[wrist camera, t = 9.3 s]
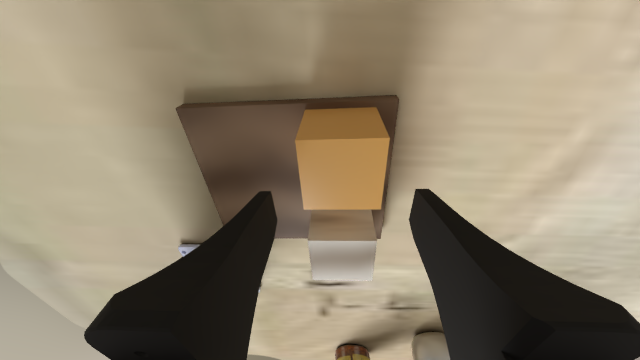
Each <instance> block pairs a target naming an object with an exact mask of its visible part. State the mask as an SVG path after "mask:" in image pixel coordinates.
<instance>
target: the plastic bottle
mask: <svg viewBox="0 0 640 360" xmlns="http://www.w3.org/2000/svg"><path fill="white" fill-rule="evenodd" d="M412 356H413V359H414V360H450V356H449V352H448V347H447V343H446V339H445V334H443V333H439V332H426V333H422V334H419V335H417V336H415V337H414V339H413V342H412Z"/></svg>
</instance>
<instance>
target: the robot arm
mask: <svg viewBox="0 0 640 360" xmlns="http://www.w3.org/2000/svg"><path fill="white" fill-rule="evenodd" d="M409 222H410V226H411V230H412V234H413V238H414V241H415V244H416V246H417V249H418V251H419V254H420V257H421V259H422V262H423V264H424V267H425V269H426V272H427V275H428V277H429V280H430V283H431V286H432V289H433V292H434V296H435V299H436V303H437V307H438V310H439V314H440V318H441V322H442V326H443V330H444V334H445V339H446V343H447V347H448V352H449V356H450V360H634V359H636V358H638V357H640V323H639V322H638V321H637V320H636V319H635V318H634V317H633V316H632V315H631V314H630V313H629V312H628V311H627V310H626V309H625V308H624V307H623V306H622V305H620V304H618V303H615V302H613V301H611V300H609V299H606V298H604V297H602V296H599V295H597V294H595V293H592V292H590V291H588V290H586V289H583V288H581V287H579V286H577V285H574V284H572V283H570V282H568V281H566V280H564V279H562V278H560V277H558V276H556V275H554V274H552V273H550V272H548V271H546V270H544V269H542V268H540V267H538V266H537V265H535V264H533V263H531V262H529V261H528V260H526V259H524V258H522V257H520V256H519V255H517V254H515V253H514V252H512V251H510V250H508V249H507V248H505V247H504V246H502V245H501V244H499V243H498V242H496V241H494V240H493V239H491V238H490V237H488V236H487V235H485V234H484V233H483V232H481V231H480V230H479V229H477V228H476V227H474V226H473V225H472V224H470V223H469V222H468V221H467V220H465V219H464V218H463V217H461V216H460V215H459V214H458V213H457V212H455V211H454V210H453V209H452V208H451V207H449V206H448V205H447V204H446V203H445V202H444V201H442V200H441V199H440V198H439V197H438V196H437V195H435V194H434V193H433V192H432V191H431V190H429V189H416V190H415V195H414V199H413V204H412V208H411V213H410V218H409ZM276 226H277V216H276V211H275V206H274V202H273V197H272V193H271V191H259V192H258V193H257V194H256V195H255V196H254V197H253V198H252V199H251V200H250V201H249V202H248V203H247V204H246V205H245V206H244V207H243V208H242V209H241V210H240V211H239V212H238V213H237V214H236V215H235V216H234V217H233V218H232V219H231V220H230V221H229V222H228V223H227V224H225V225H224V226H223V227H222V228H221V229H220V230H219V231H218V232H216V233H215V234H214V235H213V236H211V237H210V238H209V239H208V240H206V241H205V242H204V243H202V244H182V245H180V246H179V247H178V249H179V251H180V253H181V254H182V256H183V257H182V258H180V259H179V260H177V261H176V262H174V263H173V264H171V265H169V266H168V267H166V268H164V269H162V270H161V271H159V272H157V273H155V274H154V275H152V276H150V277H148V278H146V279H144V280H142V281H140V282H138V283H136V284H134V285H132V286H130V287H128V288H126V289H125V290H123V291H120V292H118V293H116V294H114V296H113V297H112V298H111V299H110V300H109V302H108V303H107V304H106V306H105V307H104V308H103V309H102V311H101V312H100V313H99V314H98V316H97V317H96V318H95V319H94V321H93V322H92V323H91V324H90V326H89V327H88V328H87V329H86V331H85V334H84V336H85V340H86V341H87V343H88V344H90V345H91V346H92V347H93V348H95V349H96V350H98V351H99V352H100V353H102V354H104V355H105V356H106V357H108V358H109V359H111V360H247V353H248V346H249V340H250V334H251V328H252V323H253V318H254V312H255V307H256V302H257V297H258V292H260V283H261V280H262V276H263V273H264V270H265V267H266V263H267V260H268V257H269V254H270V251H271V247H272V244H273V241H274V237H275V232H276Z"/></svg>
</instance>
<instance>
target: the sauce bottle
mask: <svg viewBox="0 0 640 360" xmlns="http://www.w3.org/2000/svg"><path fill="white" fill-rule="evenodd" d="M335 356H336V360H370V357H369V353H368V351H367V349H365V348H364V347H362V346H358V345H344V346H341V347H339V348H337V350H336V354H335Z"/></svg>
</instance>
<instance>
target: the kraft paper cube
mask: <svg viewBox="0 0 640 360" xmlns="http://www.w3.org/2000/svg"><path fill="white" fill-rule="evenodd" d="M389 140H390V137H389V135H388V133H387V130H386V128H385V126H384V123H383V121H382V119H381V117H380V114H379V112H378V110H377V107H367V108H338V109H310V110H305V111H304V114H303V118H302V121H301V124H300V127H299V130H298V133H297V136H296V139H295V144H296V152H297V160H298V168H299V176H300V184H301V192H302V200H303V208H304V210H370V209H381V204H382V196H383V188H384V180H385V172H386V164H387V156H388V148H389Z"/></svg>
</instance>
